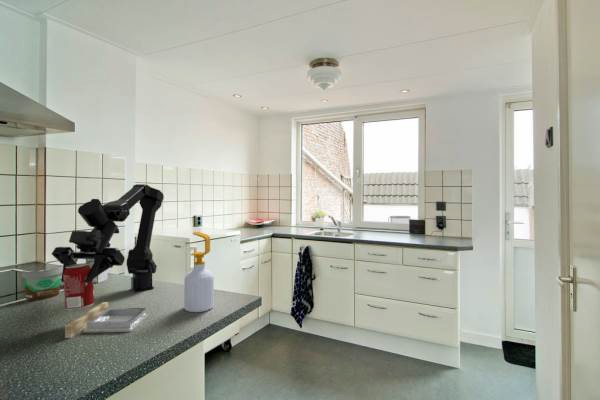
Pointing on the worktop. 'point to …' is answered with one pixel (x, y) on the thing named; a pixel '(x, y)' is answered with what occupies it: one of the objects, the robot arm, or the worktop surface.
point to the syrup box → (101, 276)
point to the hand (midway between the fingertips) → (74, 282)
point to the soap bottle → (199, 283)
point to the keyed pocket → (117, 320)
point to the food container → (42, 283)
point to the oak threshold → (84, 320)
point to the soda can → (78, 287)
